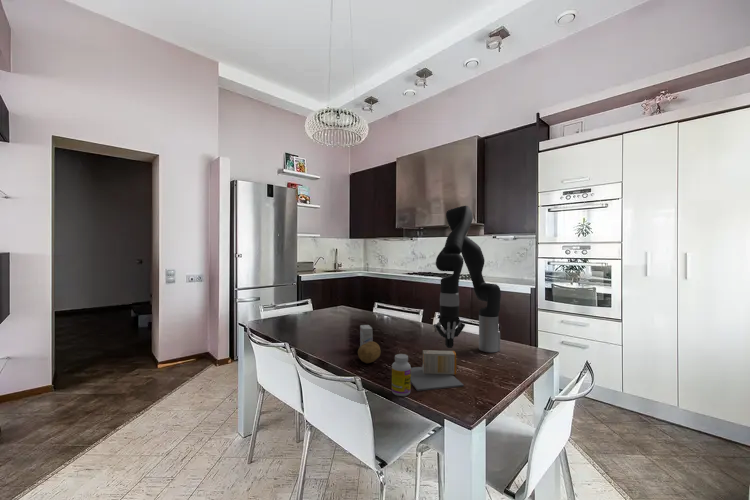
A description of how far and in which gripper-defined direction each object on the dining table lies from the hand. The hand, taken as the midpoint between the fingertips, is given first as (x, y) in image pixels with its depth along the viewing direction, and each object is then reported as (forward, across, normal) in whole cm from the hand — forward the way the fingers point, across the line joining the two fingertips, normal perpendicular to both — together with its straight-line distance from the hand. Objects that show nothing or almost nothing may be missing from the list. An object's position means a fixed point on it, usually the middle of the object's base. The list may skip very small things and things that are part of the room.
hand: (449, 347), depth 127 cm
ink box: (+12, +26, -38) cm, 48 cm away
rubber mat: (+11, +8, 0) cm, 14 cm away
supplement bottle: (+12, +23, +10) cm, 28 cm away
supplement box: (+7, -4, -1) cm, 8 cm away
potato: (+12, +28, -22) cm, 37 cm away
